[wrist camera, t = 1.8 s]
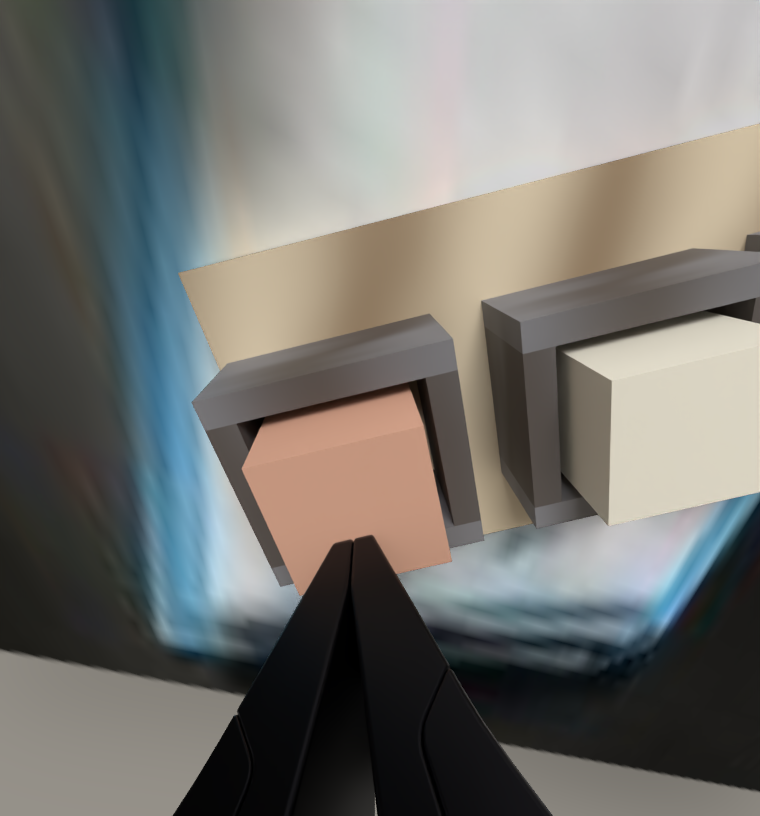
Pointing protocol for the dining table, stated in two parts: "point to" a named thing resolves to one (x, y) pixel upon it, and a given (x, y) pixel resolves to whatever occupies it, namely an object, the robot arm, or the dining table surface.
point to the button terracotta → (348, 481)
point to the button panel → (479, 317)
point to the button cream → (661, 415)
